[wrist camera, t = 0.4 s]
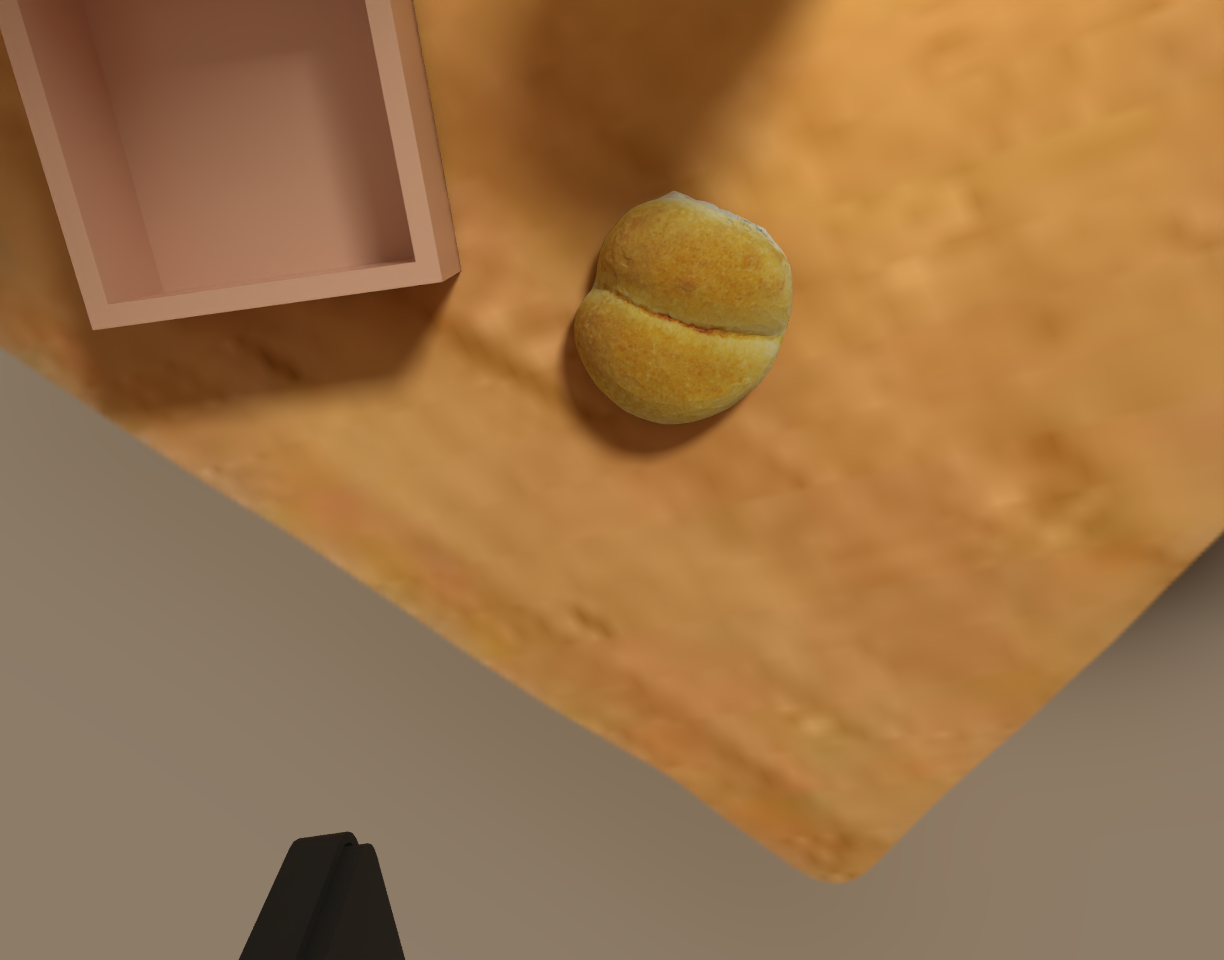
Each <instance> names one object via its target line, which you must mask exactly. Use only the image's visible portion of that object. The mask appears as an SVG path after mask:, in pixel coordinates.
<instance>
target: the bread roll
mask: <svg viewBox="0 0 1224 960" xmlns="http://www.w3.org/2000/svg"><path fill="white" fill-rule="evenodd" d="M791 307H792V272H791V267H790V264H789V262H788V260H787V258H786V256H785V254H784V253H783V251H782V250H781V248H780V247H779V245H777V244H776V243H775V242H774V240H773V239H772V237H771V236H770V235H769V234H768V233H767V231H766V229H765V228H763V227H761V226H758V225H757V224H754V223H753V222H750V221H748V220H746V219H744V218H742V217H740V216H738V215H736V214H733V213H732V212H730V211H727V210H724V209H721V208H718V207H717V206H715V205H714V204H712V203H708V202H705V201H701V200H700V201H697V200H695V199H693V198H691V197H689V196H688V195H685V194H682V193H679V192H677V191H672V192H670V193H668V194H666V195H664V196H662V197H660V198H658V199H654V200H650V201H647V202H644V203H642V204H639V205H637V206H635V207H633V208H632V209H630V210H629V211H627V212H626V213H625V215H624V216H623V217H622V218H621V219H620V220H619V221H618V222H617V224H616V225H615V226H614V227H613V228H612V230H611V231H610V232H609V234H608V235H607V237H606V238H605V240H604V243H603V245H602V248H601V251H600V253H599V258H598V263H597V276H596V279H595V282H594V285H593V287H592V289H591V291H590V292H589V293H588V295H587V296H586V297H585V299H584V300H583V302H582V304H581V305H580V307H579V309H578V311H577V313H576V317H575V321H574V339H575V345H576V348H577V351H578V353H579V356H580V358H581V360H582V362H583V365H584V367H585V369H586V371H587V372H588V374H589V376H590V377H591V379H592V380H593V382H594V383H595V385H596V386H597V387H598V388H599V389H600V390H601V391H602V392H603V393H604V394H605V395H606V396H607V397H608V398H609V399H610V400H612V401H613V402H614V403H615V404H616V405H618V406H619V407H620V408H621V409H623V410H624V411H626V412H628V413H630V414H632V415H635V416H637V417H639V418H642V419H645V420H648V421H651V422H655V423H660V424H681V423H689V422H695V421H697V420H701V419H705V418H708V417H711V416H713V415H715V414H718V413H720V412H722V411H725V410H727V409H729V408H730V407H732V406H733V405H734V404H736V403H737V402H738V401H739V400H741V399H742V398H743V397H744V396H745V395H747V394H748V393H749V392H750V391H752V390H753V389H754V388H755V387H757V386H758V385H759V384H760V382H761V381H762V380H763V378H764V377H765V376H766V374H767V373H768V372H769V370H770V368H771V367H772V365H773V363H774V361H775V359H776V356H777V354H778V352H779V349H780V346H781V342H782V339H783V336H784V333H785V331H786V328H787V325H788V321H789V317H790V314H791Z"/></svg>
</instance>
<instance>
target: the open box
mask: <svg viewBox="0 0 1224 960" xmlns="http://www.w3.org/2000/svg"><path fill="white" fill-rule="evenodd" d="M0 30H1V33H2V36H3V39H4V43H5V46H6V49H7V52H8V56H9V59H10V62H11V66H12V69H13V72H14V75H15V79H16V82H17V85H18V88H19V92H20V95H21V98H22V101H23V105H24V108H25V111H26V114H27V118H28V121H29V124H30V127H31V131H32V134H33V137H34V141H35V144H36V147H37V150H38V154H39V157H40V160H41V163H42V167H43V170H44V173H45V176H46V180H47V183H48V186H49V189H50V193H51V196H52V199H53V202H54V206H55V209H56V212H57V215H58V219H59V222H60V225H61V229H62V232H63V235H64V238H65V242H66V245H67V248H68V251H69V255H70V258H71V261H72V264H73V268H74V271H75V274H76V277H77V281H78V284H79V287H80V290H81V294H82V297H83V300H84V303H85V307H86V310H87V313H88V317H89V320H90V323H91V326H92V330H99V329H106V328H114V327H121V326H128V325H135V324H142V323H150V322H157V321H164V320H171V319H178V318H186V317H193V316H200V315H207V314H215V313H222V312H229V311H236V310H243V309H251V308H258V307H265V306H272V305H279V304H287V303H294V302H301V301H308V300H315V299H323V298H330V297H337V296H344V295H352V294H359V293H366V292H373V291H380V290H388V289H395V288H402V287H409V286H416V285H424V284H431V283H438V282H443V281H445V280H447V279H448V278H450V277H452V276H453V275H455V274H457V273H458V272H460V271H461V266H460V261H459V255H458V250H457V244H456V239H455V233H454V227H453V222H452V216H451V211H450V205H449V200H448V194H447V188H446V183H445V177H444V172H443V166H442V161H441V155H440V150H439V144H438V138H437V133H436V127H435V122H434V116H433V111H432V105H431V99H430V94H429V88H428V83H427V77H426V72H425V66H424V60H423V55H422V49H421V44H420V38H419V33H418V27H417V22H416V16H415V10H414V5H413V0H0Z"/></svg>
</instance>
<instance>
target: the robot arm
mask: <svg viewBox="0 0 1224 960" xmlns="http://www.w3.org/2000/svg"><path fill="white" fill-rule="evenodd" d="M239 960H405V957H404V954H403V950H402V946H401V943H400V939H399V935H398V932H397V928H396V924H395V921H394V917H393V913H392V910H391V906H390V902H389V899H388V895H387V891H386V888H385V885H384V880H383V877H382V873H381V869H380V866H379V862H378V858H377V855H376V852H375V849H374V847H373V846H372V845H371V844H368V843H367V844H360V845H359V844H358V842H357V839H356V837H355V836H354V835H353V833H351V832H342V833H335V834H328V835H320V836H314V837H307V838H299V839H297V840H296V841H294V842H293V844H292V846H291V847H290V849H289V851H288V853H287V855H286V857H285V860H284V862H283V864H282V866H281V868H280V870H279V873H278V875H277V877H276V879H275V881H274V884H273V886H272V888H271V890H270V892H269V895H268V897H267V899H266V901H265V903H264V905H263V908H262V910H261V912H260V914H259V917H258V919H257V921H256V923H255V926H254V927H253V930H252V932H251V934H250V936H249V938H248V941H247V943H246V945H245V947H244V949H243V952H242V954H241V956H240V958H239Z"/></svg>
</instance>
